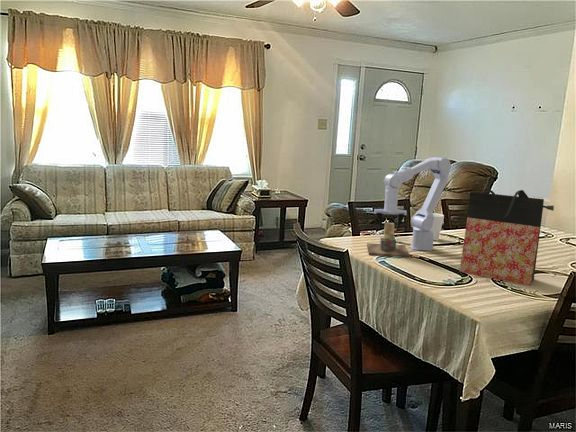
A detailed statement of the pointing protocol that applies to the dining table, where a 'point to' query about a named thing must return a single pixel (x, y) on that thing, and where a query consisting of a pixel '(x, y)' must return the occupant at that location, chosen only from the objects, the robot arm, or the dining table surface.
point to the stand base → (387, 249)
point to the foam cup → (437, 225)
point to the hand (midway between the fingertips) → (388, 229)
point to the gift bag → (502, 236)
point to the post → (388, 231)
